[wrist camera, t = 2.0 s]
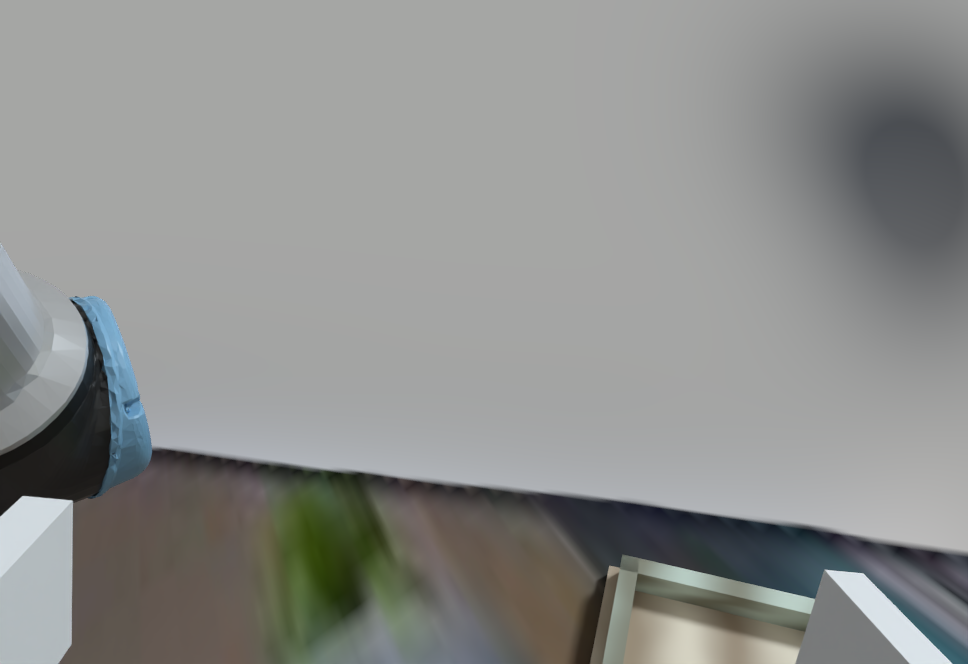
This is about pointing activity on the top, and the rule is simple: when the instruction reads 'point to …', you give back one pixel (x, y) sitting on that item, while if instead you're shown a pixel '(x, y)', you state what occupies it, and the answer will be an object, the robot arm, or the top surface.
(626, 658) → the tray
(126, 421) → the robot arm
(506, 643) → the top surface
